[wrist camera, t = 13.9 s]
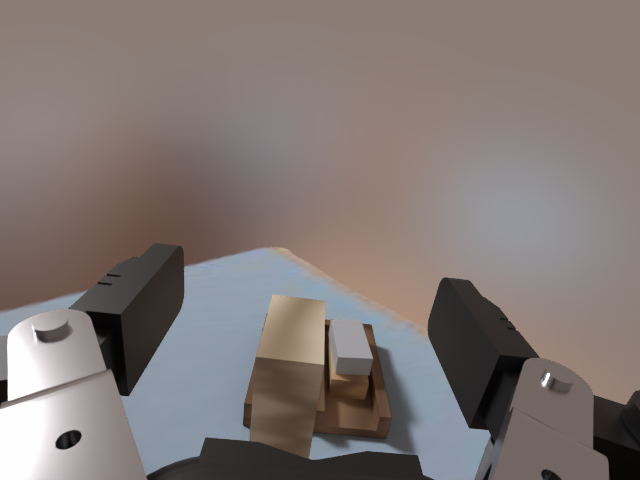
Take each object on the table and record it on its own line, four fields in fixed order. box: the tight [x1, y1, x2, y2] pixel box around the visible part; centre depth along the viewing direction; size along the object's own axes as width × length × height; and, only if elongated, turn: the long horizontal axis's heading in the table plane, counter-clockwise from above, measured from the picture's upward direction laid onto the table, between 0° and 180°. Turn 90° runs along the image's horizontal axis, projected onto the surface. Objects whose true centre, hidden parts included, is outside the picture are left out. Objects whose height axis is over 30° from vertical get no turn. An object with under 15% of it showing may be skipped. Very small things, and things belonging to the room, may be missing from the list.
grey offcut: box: [329, 319, 373, 375], centre depth 44 cm, size 4×7×2 cm, turn 5°
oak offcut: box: [328, 340, 369, 400], centre depth 44 cm, size 4×8×2 cm, turn 0°
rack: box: [243, 313, 392, 439], centre depth 44 cm, size 15×16×3 cm
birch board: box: [249, 295, 325, 459], centre depth 28 cm, size 4×7×18 cm, turn 179°
